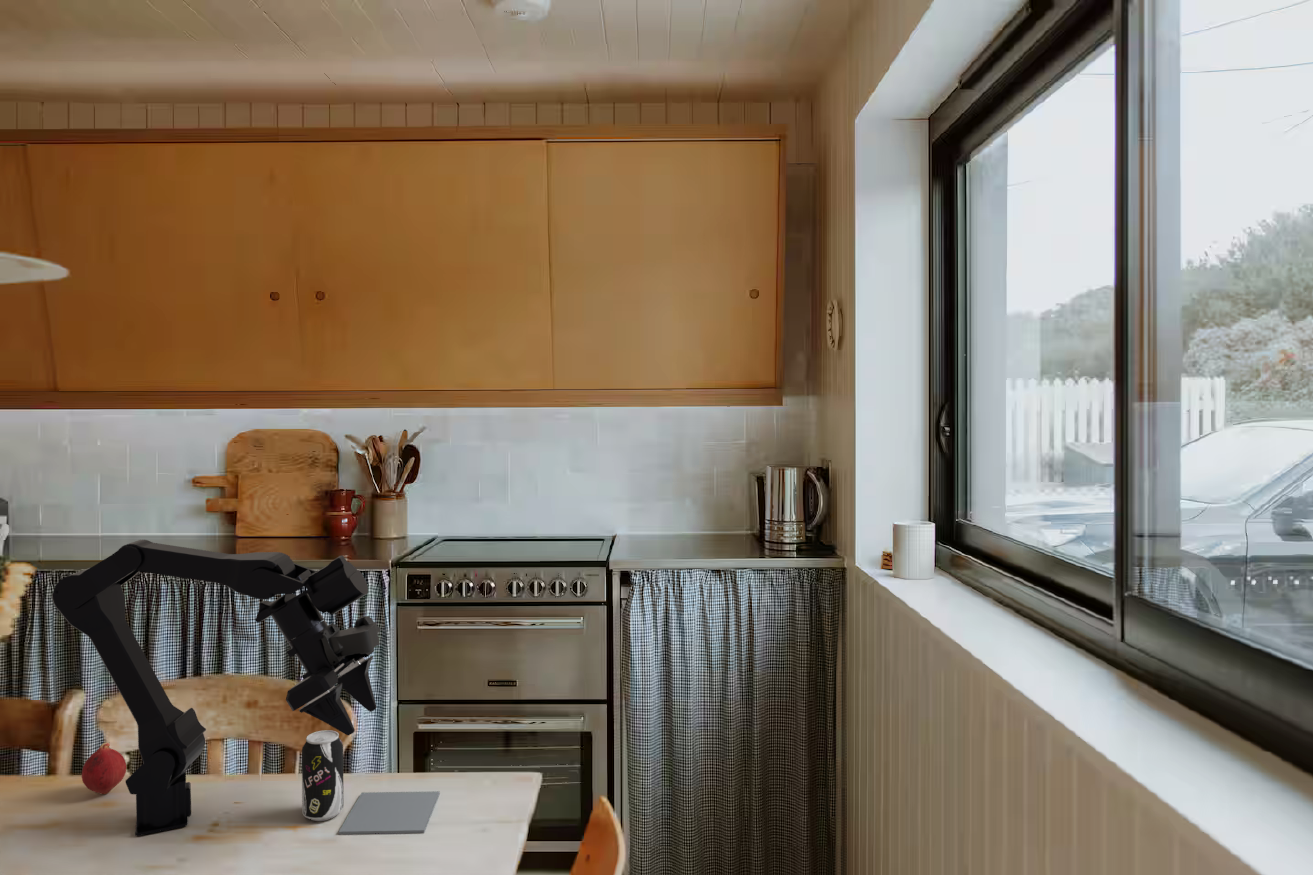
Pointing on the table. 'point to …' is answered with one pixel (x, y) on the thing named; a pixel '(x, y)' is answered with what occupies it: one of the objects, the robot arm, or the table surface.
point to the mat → (390, 813)
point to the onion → (103, 769)
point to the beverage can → (322, 775)
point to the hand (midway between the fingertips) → (363, 721)
